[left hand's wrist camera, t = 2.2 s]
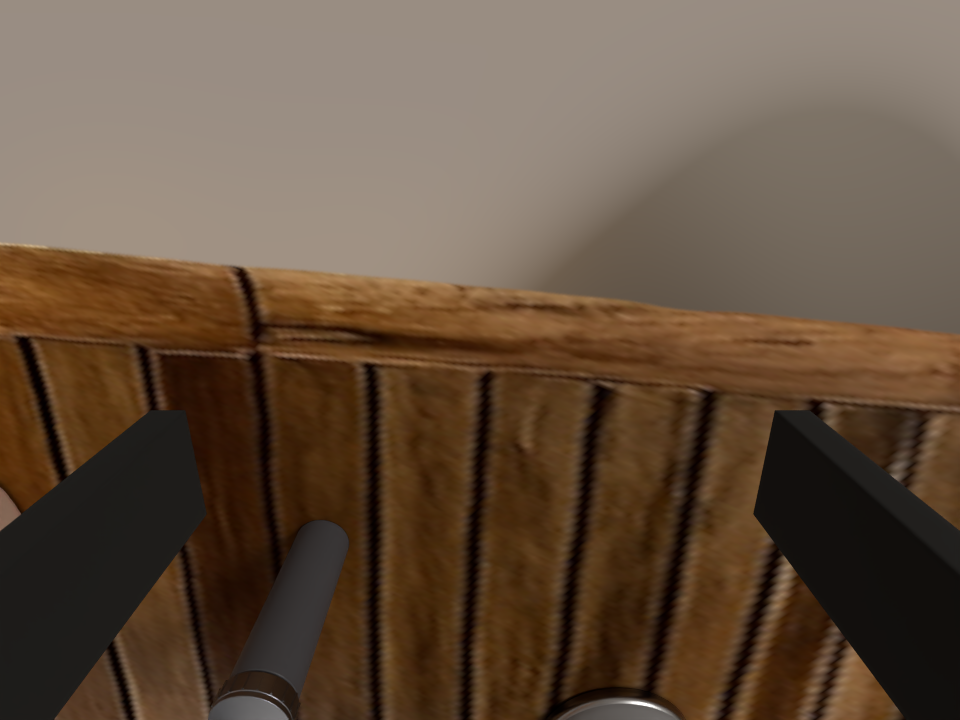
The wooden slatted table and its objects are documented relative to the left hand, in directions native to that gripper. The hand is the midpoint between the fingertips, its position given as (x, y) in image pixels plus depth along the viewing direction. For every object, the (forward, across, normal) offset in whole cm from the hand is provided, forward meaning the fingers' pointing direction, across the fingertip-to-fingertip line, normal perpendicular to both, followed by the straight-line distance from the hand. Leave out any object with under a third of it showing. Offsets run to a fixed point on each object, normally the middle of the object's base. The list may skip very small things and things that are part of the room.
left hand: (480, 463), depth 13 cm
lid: (+12, +13, +25) cm, 31 cm away
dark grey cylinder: (+28, +13, +25) cm, 40 cm away
